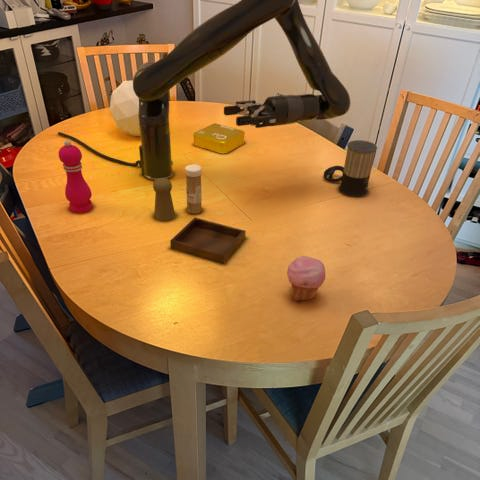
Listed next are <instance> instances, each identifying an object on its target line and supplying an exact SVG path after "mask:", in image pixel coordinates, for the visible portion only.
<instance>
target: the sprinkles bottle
mask: <svg viewBox="0 0 480 480" xmlns="http://www.w3.org/2000/svg"><path fill="white" fill-rule="evenodd" d="M184 174H185V183H186V187H185V188H186V189H185V190H186V192H185V193H186V211H187V213H189V214H192V215H195V214H199V213H201V212H202V211H203V208H202V200H203V199H202V166H201V165H198V164H195V163H193V164H188V165H185V168H184Z"/></svg>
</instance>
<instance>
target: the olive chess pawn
mask: <svg viewBox="0 0 480 480" xmlns="http://www.w3.org/2000/svg"><path fill="white" fill-rule="evenodd" d="M152 188H153V191H154V192H155V194H154V195H155V196H154V213H153V214H154V215H153V216H154V219H155V220H157V221H159V222H169V221H172V220H174V219H175V218H176V213H175V212H176V211H175V208H174V202H173V197H172V193H171V192H172V190H173V189H172V188H173V185H172V181H171V180H170V179H169V178H168V179H165V178H159V179H157V180H153V184H152Z"/></svg>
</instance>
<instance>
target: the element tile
mask: <svg viewBox="0 0 480 480" xmlns="http://www.w3.org/2000/svg"><path fill="white" fill-rule="evenodd" d="M245 134H246V132H245V131H244V130H242V129H238V128H234V127H231V126H227V125H224V124H220V123H215V122H214V123H211V124H210V125H207V126H205V127H203V128H201V129H198V130H197V131H194V132H193V145H194V146H195V147H198V148H200V149H204V150H207V151H211V152H214V153H218V154H222V155H225V154H228V153H230V152H231V151H233V150H235V149H237V148H238V147H240V146H242V145H244V144H245V137H246V136H245Z"/></svg>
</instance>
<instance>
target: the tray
mask: <svg viewBox="0 0 480 480" xmlns="http://www.w3.org/2000/svg"><path fill="white" fill-rule="evenodd" d="M246 233H247V232H246V230H244V229H240V228H237V227H233V226H229V225H225V224H221V223H217V222H214V221H211V220H207V219H203V218H198V217H193V218H192V220H190V221H189V222H188V223H187V224H186V225H185V226H184V227H183V228H182V229H181V230H179V232H178V233H177V234H176V235H175V236H174V237H172V238H171V239H170V243H169V244H170V249H171V250H175V251H178V252H181V253H184V254H188V255H192V256H195V257H198V258H202V259H205V260H209V261H212V262H216V263H218V264H223V265H224V264H225V263H226V262H227V261H228V260H229V259H230V258H231V256H232V255H233V254H234V253H235V251H236V250H237V249H238V248H239V247H240V245H241V244H242V243H243V242H244V241H245V240H246Z"/></svg>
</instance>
